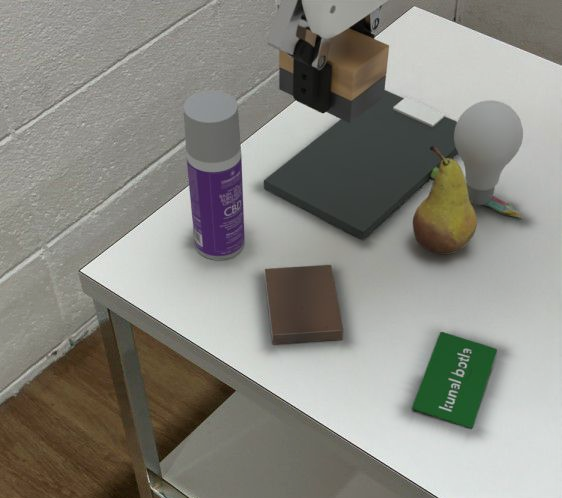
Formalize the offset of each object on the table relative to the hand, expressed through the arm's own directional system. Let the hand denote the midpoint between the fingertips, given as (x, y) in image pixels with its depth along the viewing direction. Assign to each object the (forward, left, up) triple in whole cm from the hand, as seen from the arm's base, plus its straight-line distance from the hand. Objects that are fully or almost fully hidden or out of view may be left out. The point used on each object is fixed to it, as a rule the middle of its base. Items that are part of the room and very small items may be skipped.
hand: (332, 87), depth 74 cm
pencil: (-13, -9, -18) cm, 24 cm away
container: (+9, -2, -18) cm, 20 cm away
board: (-7, -13, -18) cm, 23 cm away
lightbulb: (-16, -6, -18) cm, 24 cm away
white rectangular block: (-12, -19, -17) cm, 28 cm away
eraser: (0, 0, -1) cm, 1 cm away
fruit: (-11, 0, -18) cm, 21 cm away
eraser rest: (+3, +7, -18) cm, 19 cm away
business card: (-11, +17, -18) cm, 27 cm away
